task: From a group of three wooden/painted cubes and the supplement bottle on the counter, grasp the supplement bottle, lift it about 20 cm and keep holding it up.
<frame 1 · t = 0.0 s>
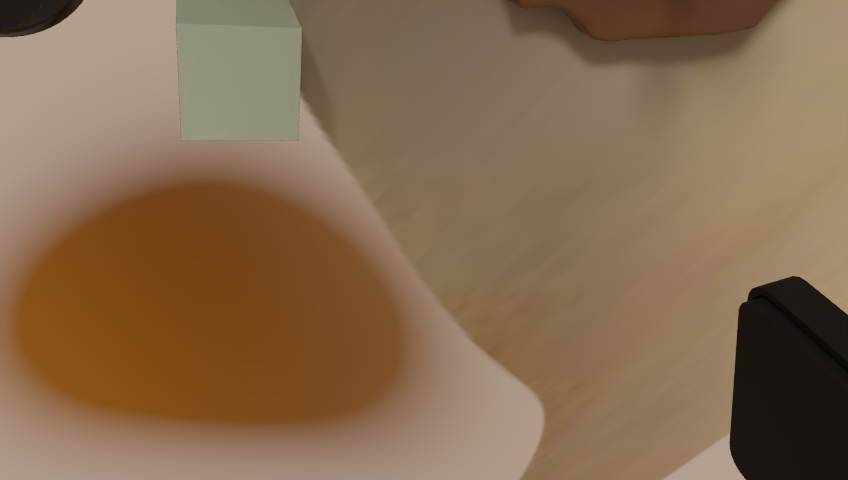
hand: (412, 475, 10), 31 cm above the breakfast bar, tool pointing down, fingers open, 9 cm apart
sage cube: (234, 51, 38), on the breakfast bar
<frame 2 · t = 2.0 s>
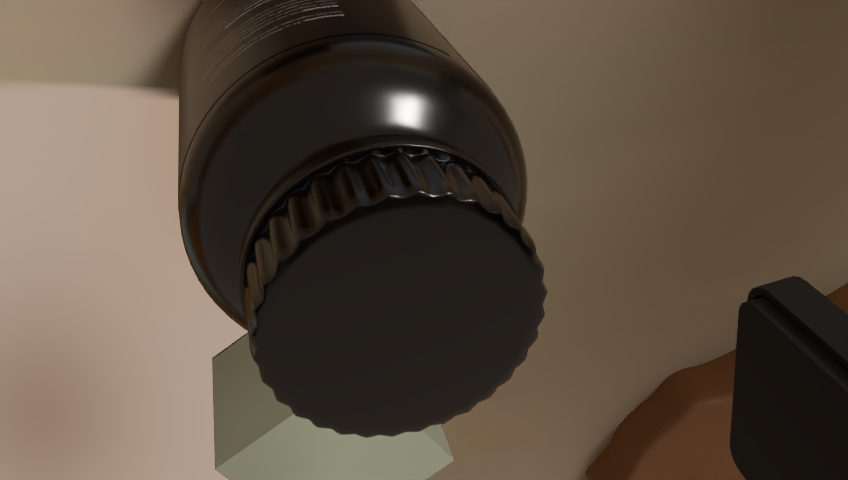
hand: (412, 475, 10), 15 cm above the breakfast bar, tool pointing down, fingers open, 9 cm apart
supplement bottle: (308, 69, 23), on the breakfast bar
plant: (790, 459, 38), on the breakfast bar
sage cube: (318, 358, 28), on the breakfast bar
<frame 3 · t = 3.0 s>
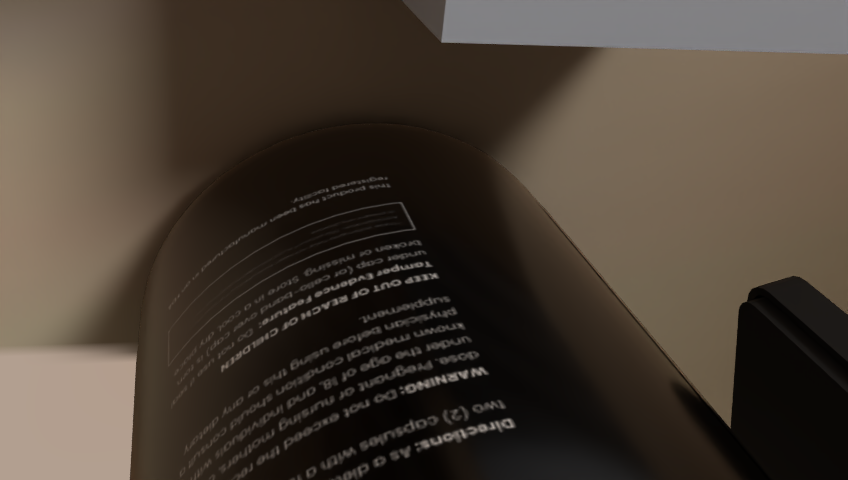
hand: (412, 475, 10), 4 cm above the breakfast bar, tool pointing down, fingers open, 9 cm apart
supplement bottle: (356, 295, 14), on the breakfast bar
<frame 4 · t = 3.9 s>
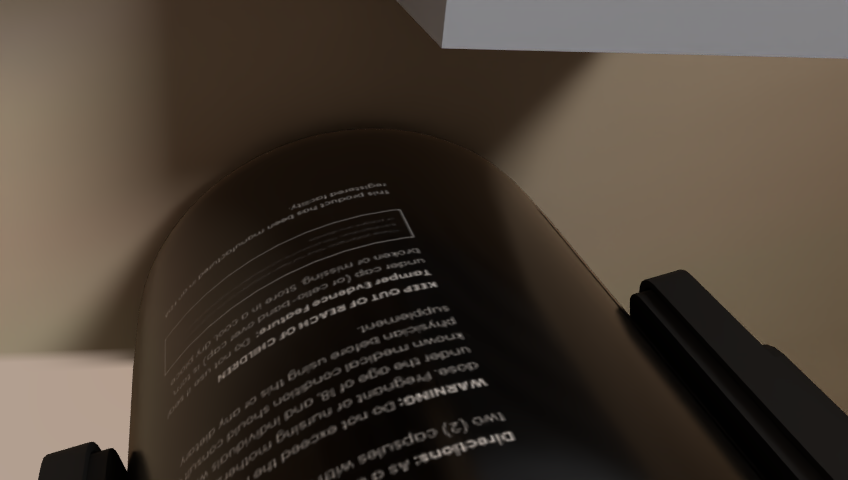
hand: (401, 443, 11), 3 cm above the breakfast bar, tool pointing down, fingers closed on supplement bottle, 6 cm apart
supplement bottle: (354, 301, 14), on the breakfast bar, touching gripper
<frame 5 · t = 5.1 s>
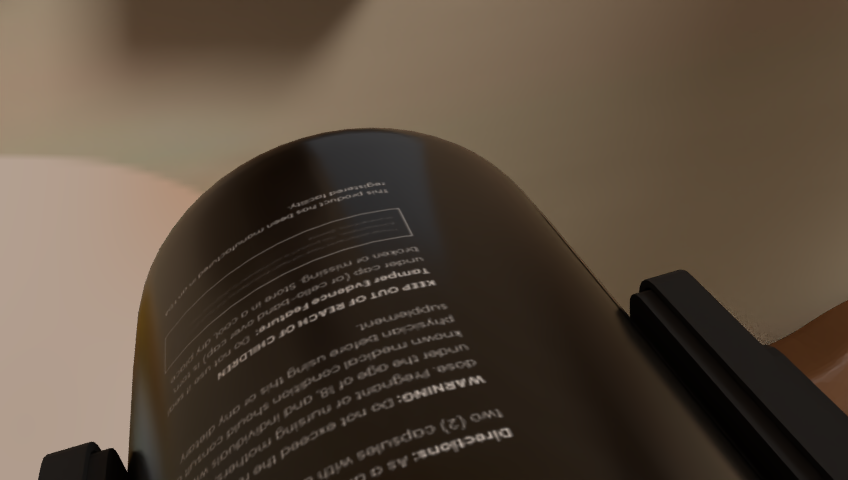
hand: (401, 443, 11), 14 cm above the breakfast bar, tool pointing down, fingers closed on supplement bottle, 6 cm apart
supplement bottle: (354, 300, 14), point 10 cm above the breakfast bar, touching gripper
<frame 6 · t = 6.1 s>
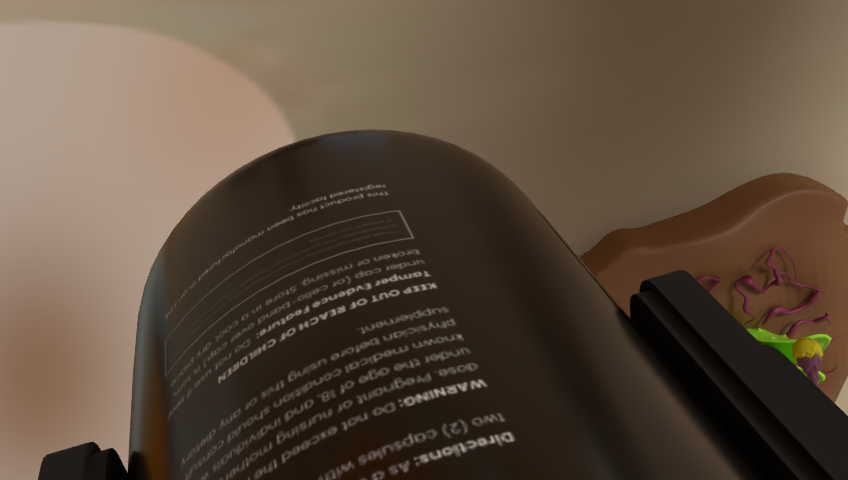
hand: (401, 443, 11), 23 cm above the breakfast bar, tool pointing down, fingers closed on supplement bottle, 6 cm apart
supplement bottle: (354, 301, 14), point 20 cm above the breakfast bar, touching gripper
plant: (689, 342, 46), on the breakfast bar
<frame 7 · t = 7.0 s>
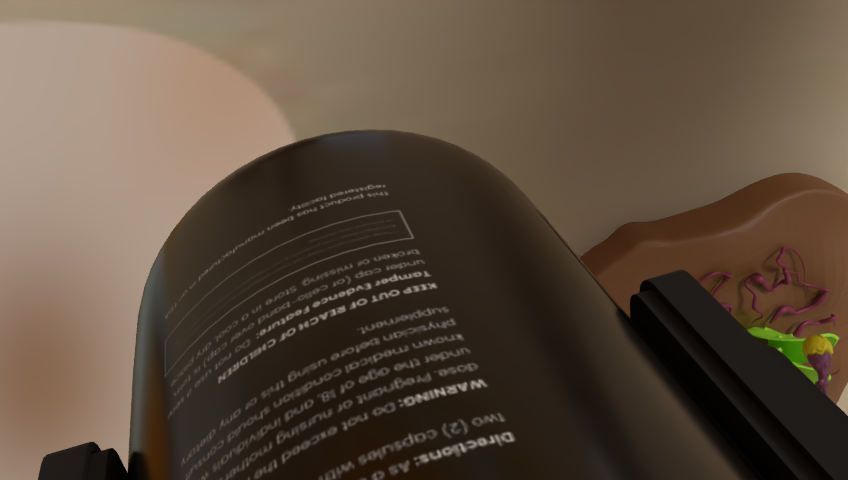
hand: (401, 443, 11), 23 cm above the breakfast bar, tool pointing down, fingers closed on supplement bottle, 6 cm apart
supplement bottle: (354, 301, 14), point 20 cm above the breakfast bar, touching gripper
plant: (693, 340, 46), on the breakfast bar
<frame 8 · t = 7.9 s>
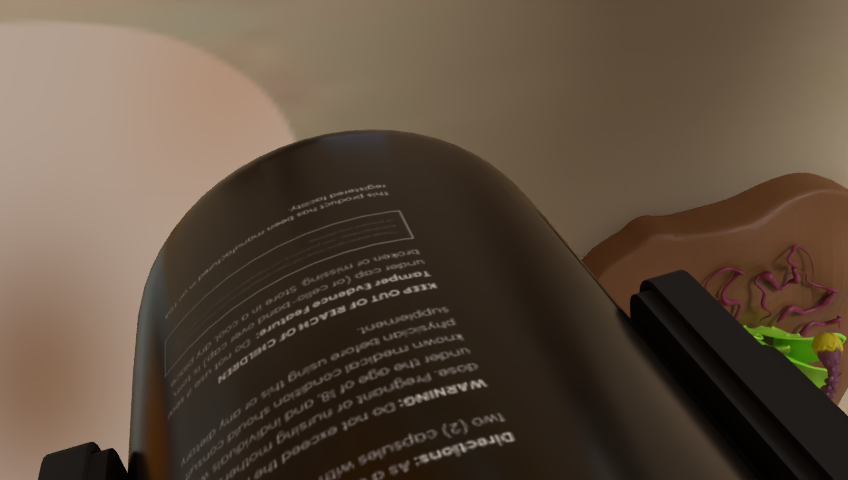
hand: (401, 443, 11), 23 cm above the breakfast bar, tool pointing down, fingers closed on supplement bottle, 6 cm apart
supplement bottle: (354, 301, 14), point 20 cm above the breakfast bar, touching gripper
plant: (698, 339, 46), on the breakfast bar
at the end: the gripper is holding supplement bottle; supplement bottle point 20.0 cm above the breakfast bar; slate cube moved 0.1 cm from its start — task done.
